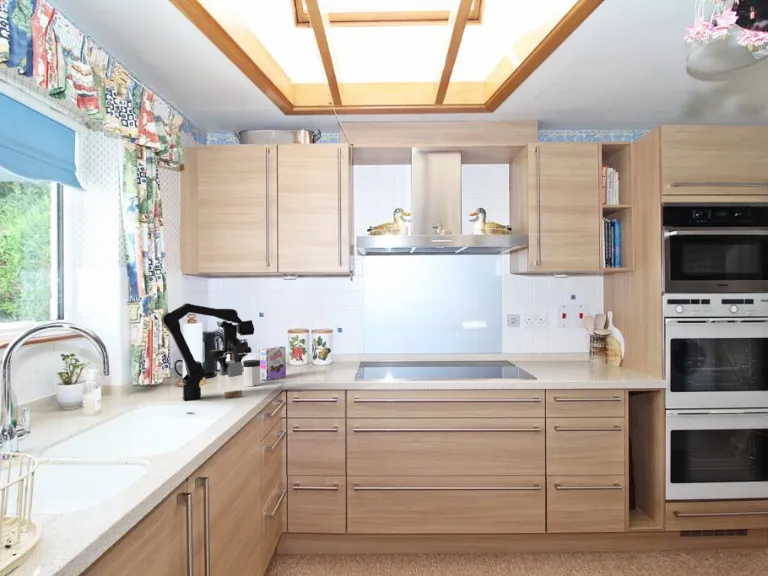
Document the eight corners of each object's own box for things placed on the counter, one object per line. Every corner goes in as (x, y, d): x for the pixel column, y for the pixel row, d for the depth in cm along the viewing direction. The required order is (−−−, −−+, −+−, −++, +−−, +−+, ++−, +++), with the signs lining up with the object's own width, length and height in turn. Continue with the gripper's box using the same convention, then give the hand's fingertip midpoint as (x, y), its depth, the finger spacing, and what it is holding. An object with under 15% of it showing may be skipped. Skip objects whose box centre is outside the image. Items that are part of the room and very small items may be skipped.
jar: (264, 383, 228) (264, 359, 228) (256, 386, 220) (256, 362, 220) (248, 383, 230) (247, 359, 230) (239, 386, 222) (239, 361, 222)
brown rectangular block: (225, 398, 196) (225, 393, 196) (224, 397, 198) (224, 392, 198) (242, 396, 200) (242, 391, 200) (241, 395, 202) (240, 390, 202)
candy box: (267, 381, 235) (266, 349, 235) (259, 380, 238) (258, 348, 238) (286, 376, 246) (285, 346, 246) (278, 375, 249) (278, 345, 249)
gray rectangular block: (230, 377, 203) (229, 363, 203) (220, 375, 208) (220, 362, 208) (241, 374, 207) (241, 361, 207) (231, 373, 212) (231, 360, 212)
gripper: (221, 339, 195) (222, 375, 195) (258, 335, 210) (258, 369, 210) (207, 338, 202) (208, 373, 202) (244, 334, 217) (244, 367, 217)
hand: (231, 370), depth 208 cm, fingers closed on gray rectangular block, 6 cm apart
